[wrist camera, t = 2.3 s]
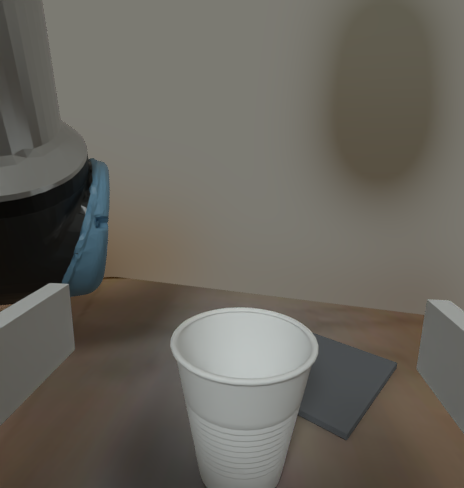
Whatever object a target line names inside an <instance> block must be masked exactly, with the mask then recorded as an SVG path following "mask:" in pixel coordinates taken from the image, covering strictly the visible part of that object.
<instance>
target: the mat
mask: <svg viewBox="0 0 464 488" xmlns="http://www.w3.org/2000/svg"><path fill="white" fill-rule="evenodd" d="M313 335H314V336H315V337H316V340H317V343H318V346H319V347H318V356H317V358H316V360H315V362H314V363H313V365H312V366H311V369H310V373H309V376H308V380H307V384H306V387H305V391H304V394H303V398H302V401H301V403H300V408H299V412H298V414H297V415H299V416H301V417H303V418H305V419H307V420H309V421H311V422H312V423H314V424H316V425H318V426H320V427H322V428H324V429H326V430H328V431H330V432H332V433H333V434H335V435H337V436H339V437H341V438H343V439H345V440H347V439H348V438H349V436H350V435H351V433H352V432H353V430H354V429H355V427H356V426H357V425H358V423H359V422H360V420H361V419H362V417H363V416H364V414H365V413H366V411H367V410H368V409H369V407H370V406H371V404H372V403H373V401H374V400H375V398H376V397H377V395H378V394H379V392H380V391H381V390H382V388H383V387H384V385H385V384H386V382H387V381H388V379H389V378H390V376H391V375H392V373H393V372H394V371H395V369H396V367H397V363H396V362H393V361H390V360H388V359H385V358H382V357H379V356H376V355H373V354H371V353H368V352H365V351H362V350H359V349H357V348H354V347H351V346H348V345H345V344H343V343H340V342H337V341H334V340H331V339H328V338H326V337H323V336H320V335H317V334H314V333H313Z"/></svg>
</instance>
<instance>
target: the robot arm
mask: <svg viewBox="0 0 464 488" xmlns="http://www.w3.org/2000/svg"><path fill="white" fill-rule="evenodd" d="M108 214H109V170H108V167H107V165H106V164H105V163H104V162H101V161H97V160H95V159H94V158H92V159H88V154H87V146H86V143H85V141H84V139H83V138H82V136H81V135H80V134H79V133H78V132H77V131H76V130H75V129H73V128H72V127H70V126H69V125H68V124H66V123H65V122H63V121H62V120H61V119H60V114H59V106H58V100H57V93H56V87H55V81H54V75H53V68H52V61H51V56H50V48H49V42H48V35H47V29H46V23H45V17H44V9H43V3H42V0H0V305H7V304H13V305H11V306H10V307H8V308H6V309H4V310H3V311H1V312H0V426H1V425H2V424H3V423H4V422H5V421H6V420H7V418H8V417H9V416H10V415H11V414H12V413H13V412H14V411H15V410H16V409H17V408H18V407H19V406H20V405H21V404H22V403H23V402H24V401H25V400H26V399H27V398H28V397H29V396H30V395H31V394H32V393H33V392H34V391H35V390H36V389H37V388H38V387H39V386H40V385H41V384H42V383H43V382H44V381H45V380H46V379H47V378H48V377H49V376H50V375H51V374H52V373H53V372H54V371H55V370H56V369H57V367H58V366H59V365H60V364H61V363H62V362H63V361H64V360H65V359H66V358H67V357H68V356H69V355H70V354H71V353H72V352H73V351H74V350H75V342H74V332H73V321H72V311H71V300H70V297H73V296H80V295H86V294H89V293H91V292H93V291H94V290H96V289H97V288H98V287H99V285H100V284H101V282H102V280H103V277H104V271H105V265H106V256H107V244H108V224H107V222H108ZM417 370H418V372H419V373H420V375H421V376H422V377H423V379H424V380H425V381H426V383H427V384H428V385H429V387H430V388H431V390H432V391H433V392H434V394H435V395H436V396H437V398H438V399H439V401H440V402H441V403H442V405H443V406H444V407H445V409H446V410H447V411H448V413H449V414H450V416H451V417H452V418H453V420H454V421H455V422H456V424H457V425H458V426H459V428H460V429H461V431H462V432H463V433H464V311H463V310H462V309H460V308H459V307H457V306H456V305H455V304H454V303H452V302H451V301H450V300H428V299H427V303H426V311H425V316H424V323H423V330H422V336H421V343H420V350H419V356H418V363H417Z"/></svg>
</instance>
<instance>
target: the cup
mask: <svg viewBox="0 0 464 488" xmlns="http://www.w3.org/2000/svg"><path fill="white" fill-rule="evenodd" d="M318 347H319V346H318V343H317V340H316V337H315V336H314V335H313V333H312V332H311V331H310V330H309V329H308V328H307V327H306V326H305V325H303V324H302V323H300V322H298V321H297V320H295V319H293V318H291V317H288V316H286V315H283V314H280V313H277V312H273V311H269V310H264V309H256V308H242V307H236V308H223V309H216V310H211V311H207V312H204V313H201V314H198V315H195V316H193V317H191V318H189V319H187V320H186V321H184V322H183V323H182V324H180V325H179V326H178V327H177V329H176V330H175V331H174V332H173V335H172V337H171V342H170V348H171V351H172V354H173V356H174V357H175V359H176V361H177V366H178V371H179V376H180V380H181V385H182V390H183V395H184V398H185V403H186V408H187V413H188V419H189V424H190V427H191V432H192V437H193V442H194V447H195V453H196V458H197V463H198V468H199V473H200V476H201V479H202V481H203V482H204V484H205V486H206V487H207V488H275V487H276V486H277V484H278V483H279V480H280V477H281V474H282V470H283V467H284V463H285V460H286V455H287V452H288V448H289V444H290V441H291V437H292V433H293V430H294V426H295V423H296V419H297V414H298V412H299V408H300V403H301V401H302V398H303V394H304V391H305V387H306V384H307V380H308V376H309V373H310V369H311V366H312V365H313V363H314V362H315V360H316V358H317V356H318Z"/></svg>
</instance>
